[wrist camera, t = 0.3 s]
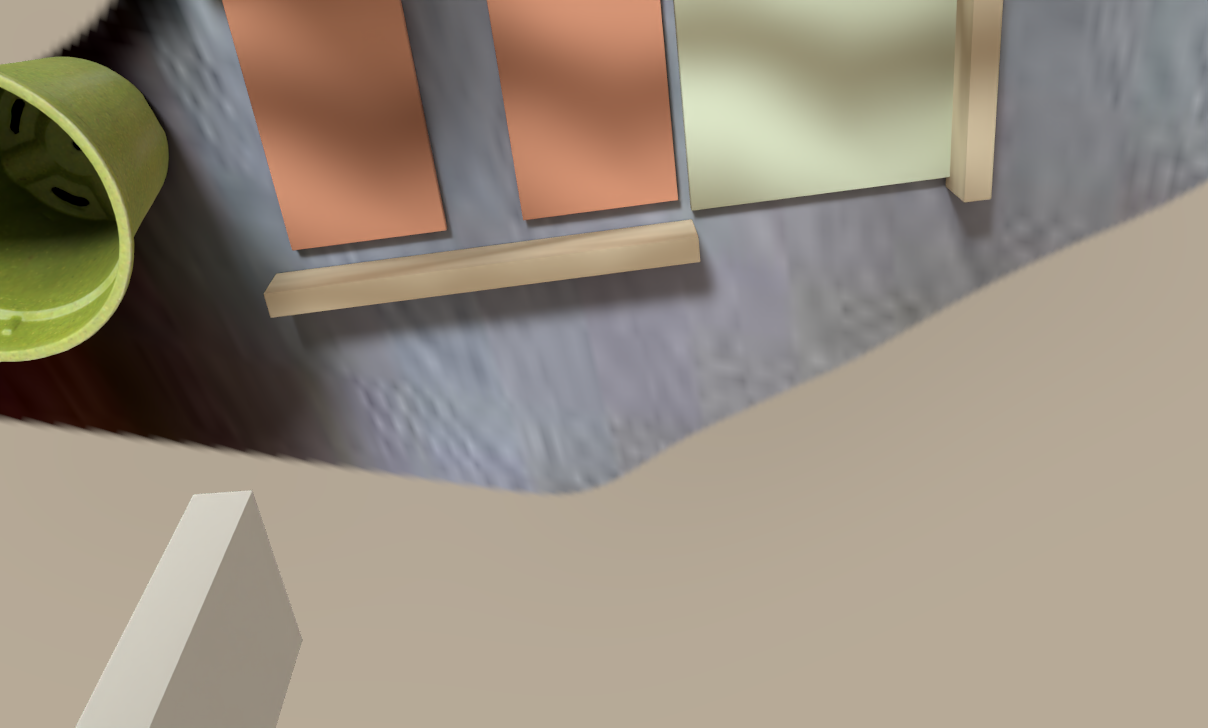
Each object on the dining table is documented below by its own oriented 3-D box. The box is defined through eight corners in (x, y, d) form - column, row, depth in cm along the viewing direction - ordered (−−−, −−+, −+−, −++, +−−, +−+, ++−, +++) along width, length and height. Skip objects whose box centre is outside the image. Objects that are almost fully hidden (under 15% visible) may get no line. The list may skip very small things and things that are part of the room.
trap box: (171, -84, 34) (150, -80, 32) (990, -195, 33) (1014, -197, 32) (282, 296, 40) (270, 317, 39) (969, 207, 40) (989, 224, 38)
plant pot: (187, 294, 40) (101, 402, 32) (-66, 210, 38) (-221, 304, 30) (242, 70, 36) (159, 133, 29) (-36, -35, 34) (-206, 1, 27)
